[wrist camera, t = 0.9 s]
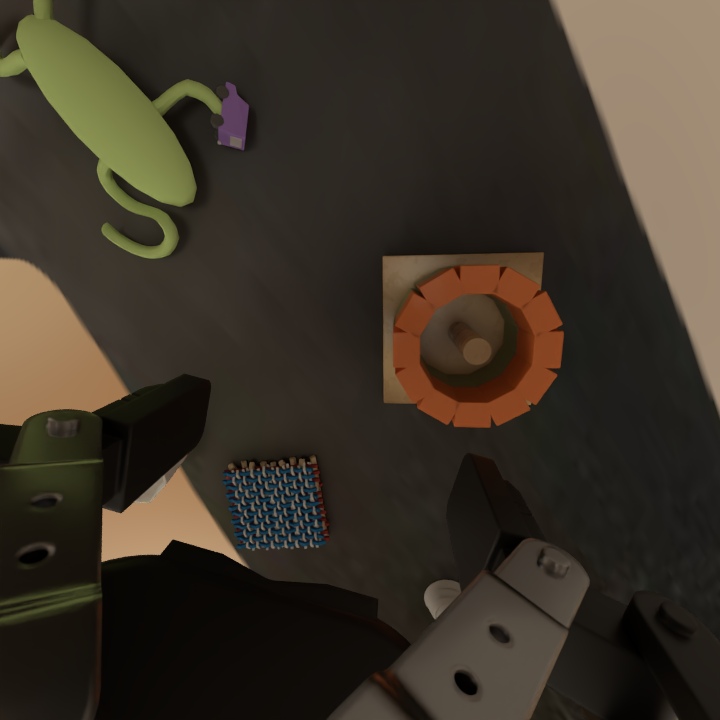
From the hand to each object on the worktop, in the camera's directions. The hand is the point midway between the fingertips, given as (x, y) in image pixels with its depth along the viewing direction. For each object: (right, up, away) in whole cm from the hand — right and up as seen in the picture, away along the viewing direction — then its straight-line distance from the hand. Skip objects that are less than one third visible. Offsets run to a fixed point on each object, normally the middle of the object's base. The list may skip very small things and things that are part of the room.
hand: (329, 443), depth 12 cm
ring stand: (+10, +5, +25) cm, 28 cm away
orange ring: (+10, +4, +20) cm, 23 cm away
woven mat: (-8, -13, +32) cm, 35 cm away
